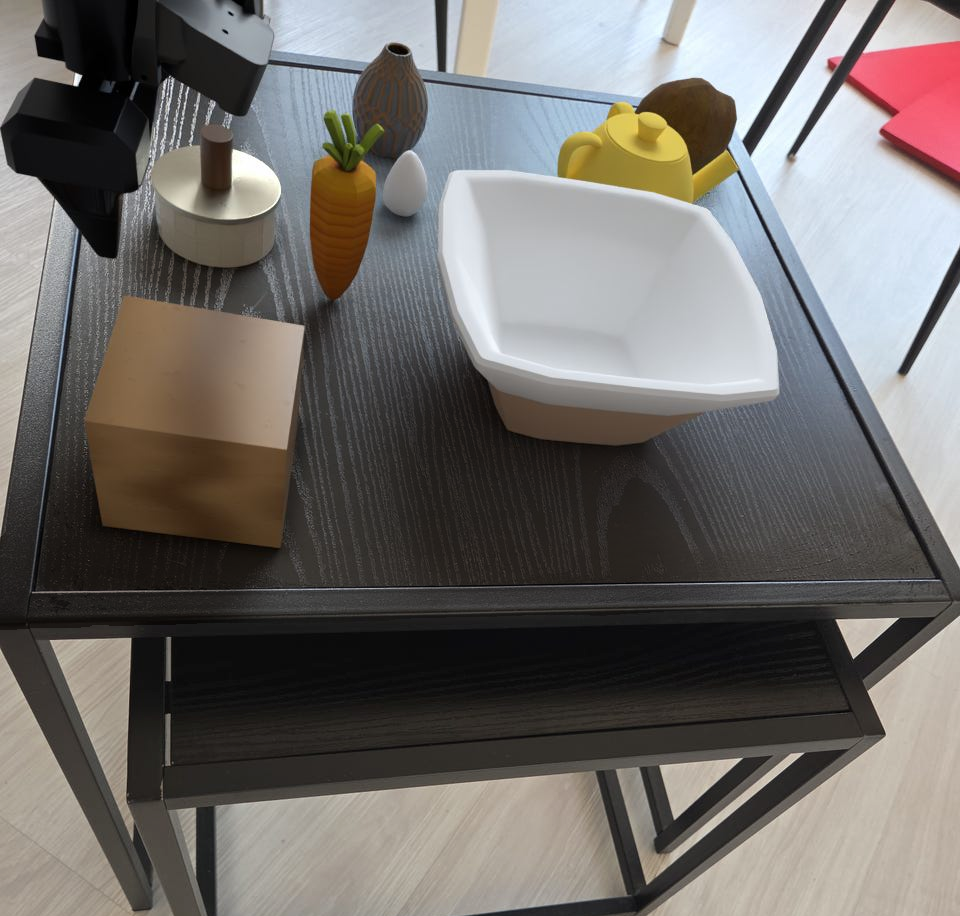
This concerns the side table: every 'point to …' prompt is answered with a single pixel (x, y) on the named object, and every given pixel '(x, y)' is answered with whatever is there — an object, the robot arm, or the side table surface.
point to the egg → (406, 185)
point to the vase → (391, 101)
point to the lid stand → (196, 422)
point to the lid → (216, 181)
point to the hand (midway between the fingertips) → (123, 210)
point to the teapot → (639, 157)
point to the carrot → (341, 205)
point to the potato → (695, 116)
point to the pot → (215, 238)
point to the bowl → (599, 306)
